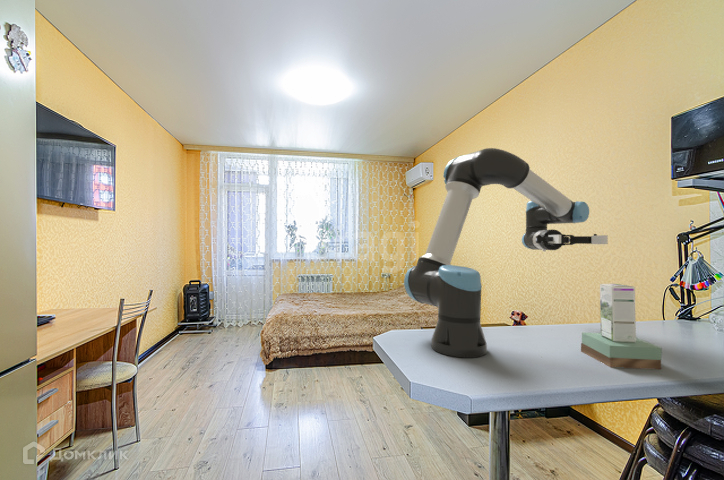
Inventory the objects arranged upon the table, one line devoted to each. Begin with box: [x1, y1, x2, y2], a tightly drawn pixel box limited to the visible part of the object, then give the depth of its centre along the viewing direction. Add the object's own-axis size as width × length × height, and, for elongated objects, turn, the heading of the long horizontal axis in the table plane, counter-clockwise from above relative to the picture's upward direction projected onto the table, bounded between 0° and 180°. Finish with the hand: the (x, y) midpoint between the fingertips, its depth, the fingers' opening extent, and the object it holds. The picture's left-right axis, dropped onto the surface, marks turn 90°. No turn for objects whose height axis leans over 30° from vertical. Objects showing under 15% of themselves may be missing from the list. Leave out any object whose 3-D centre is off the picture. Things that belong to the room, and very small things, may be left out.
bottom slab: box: [580, 342, 662, 370], centre depth 88 cm, size 12×12×3 cm
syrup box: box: [599, 283, 637, 342], centre depth 88 cm, size 6×6×14 cm
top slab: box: [581, 332, 662, 361], centre depth 88 cm, size 12×12×3 cm
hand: (583, 239), depth 101 cm, fingers open, 13 cm apart
